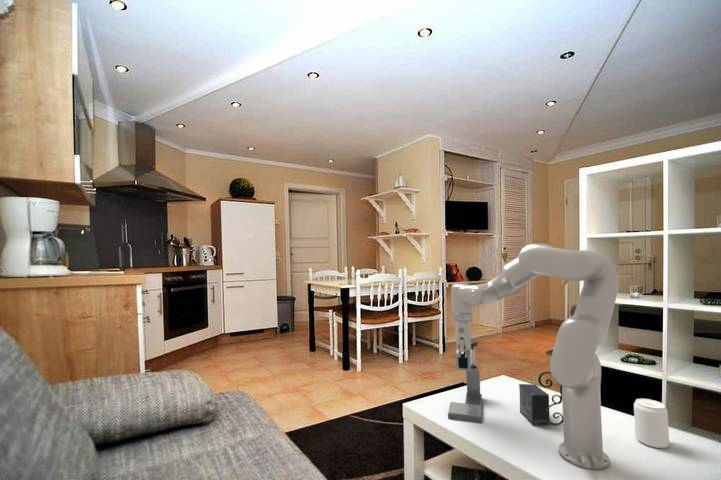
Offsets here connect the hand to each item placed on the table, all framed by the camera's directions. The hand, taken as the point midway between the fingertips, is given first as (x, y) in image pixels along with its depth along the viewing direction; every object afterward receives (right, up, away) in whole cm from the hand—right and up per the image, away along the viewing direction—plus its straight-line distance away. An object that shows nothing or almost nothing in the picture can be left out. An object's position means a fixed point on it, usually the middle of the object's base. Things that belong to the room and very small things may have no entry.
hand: (463, 365), depth 131 cm
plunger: (+8, -8, +12) cm, 17 cm away
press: (+3, -18, +4) cm, 19 cm away
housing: (0, -1, 0) cm, 1 cm away
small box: (+24, -18, -5) cm, 30 cm away
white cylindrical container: (+52, -16, -22) cm, 59 cm away
